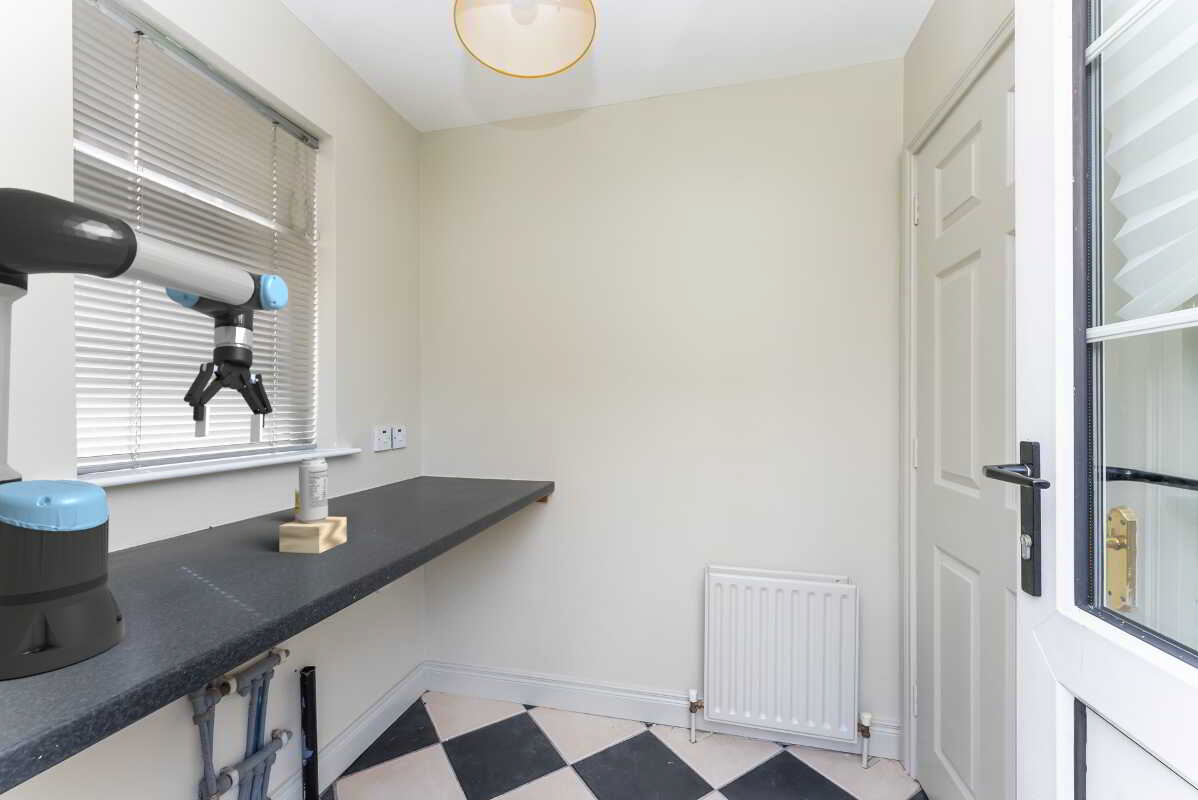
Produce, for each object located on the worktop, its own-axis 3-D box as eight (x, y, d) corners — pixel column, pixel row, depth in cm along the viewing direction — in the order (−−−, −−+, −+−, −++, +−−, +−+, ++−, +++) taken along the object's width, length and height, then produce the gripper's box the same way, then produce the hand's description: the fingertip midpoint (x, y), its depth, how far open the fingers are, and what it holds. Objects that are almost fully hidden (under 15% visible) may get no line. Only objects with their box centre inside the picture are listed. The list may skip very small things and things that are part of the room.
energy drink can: (319, 517, 128) (319, 456, 128) (333, 520, 124) (332, 457, 124) (294, 522, 123) (293, 458, 123) (307, 525, 119) (306, 460, 119)
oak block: (319, 553, 118) (319, 527, 118) (279, 551, 119) (279, 525, 119) (346, 541, 128) (346, 517, 128) (309, 540, 129) (309, 516, 129)
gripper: (264, 363, 134) (263, 445, 130) (166, 337, 110) (160, 436, 106) (289, 359, 133) (288, 441, 129) (194, 331, 109) (190, 431, 105)
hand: (230, 439), depth 117 cm, fingers open, 13 cm apart
